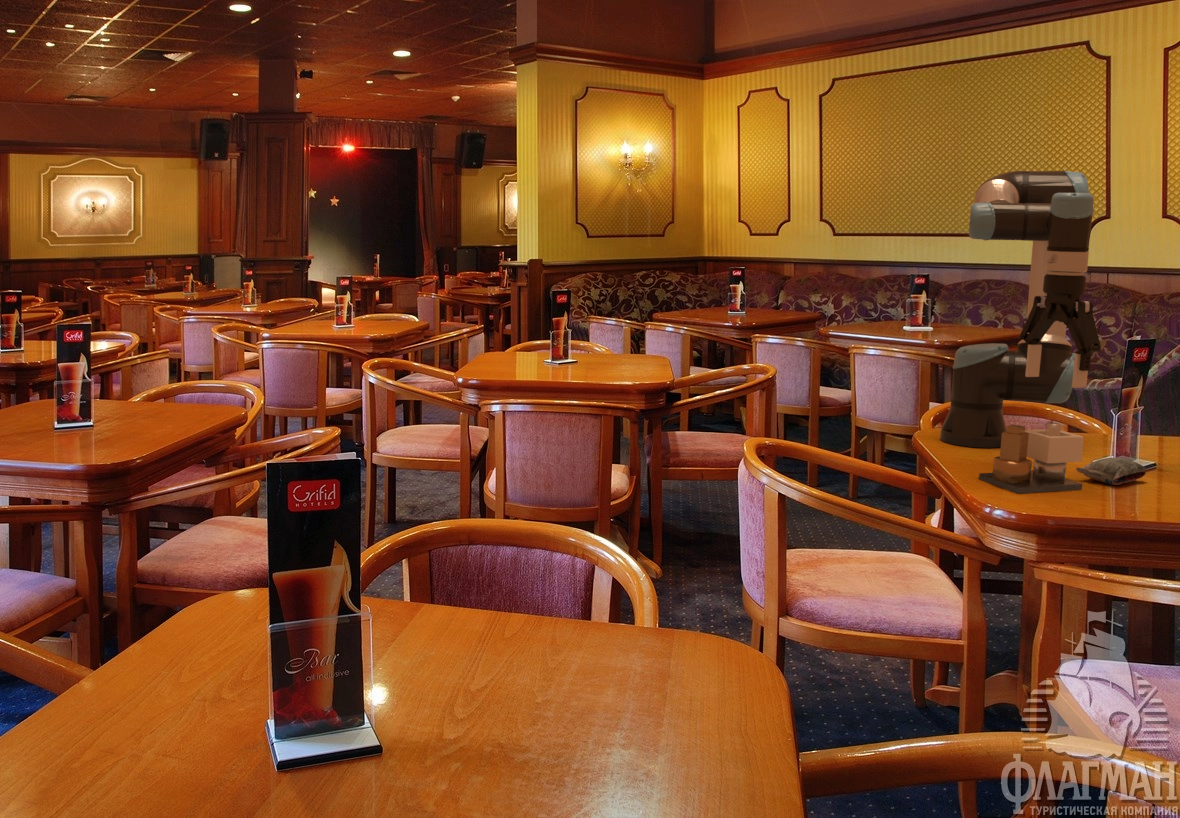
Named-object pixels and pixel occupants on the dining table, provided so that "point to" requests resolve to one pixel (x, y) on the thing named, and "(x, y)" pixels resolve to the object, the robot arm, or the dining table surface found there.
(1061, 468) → the stand
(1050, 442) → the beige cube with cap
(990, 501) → the dining table surface
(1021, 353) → the robot arm
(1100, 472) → the packaged food
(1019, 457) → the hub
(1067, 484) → the jig plate
